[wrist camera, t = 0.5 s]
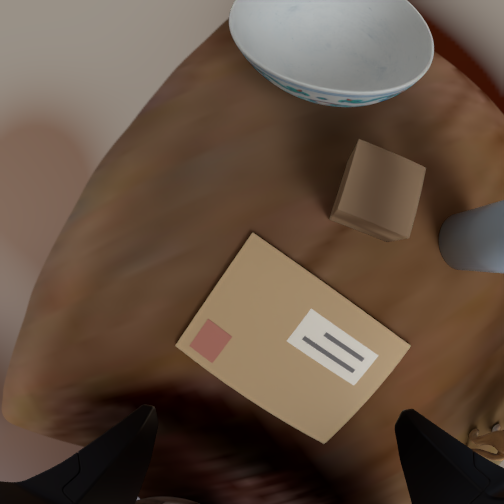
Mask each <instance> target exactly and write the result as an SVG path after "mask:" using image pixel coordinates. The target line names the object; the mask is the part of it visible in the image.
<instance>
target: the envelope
mask: <svg viewBox="0 0 504 504" xmlns="http://www.w3.org/2000/svg"><path fill="white" fill-rule="evenodd" d="M175 346H176V347H178V348H179V349H180V350H181V351H183V352H184V353H185V354H186V355H188V356H189V357H190V358H192V359H193V360H194V361H196V362H197V363H198V364H200V365H201V366H202V367H204V368H205V369H206V370H208V371H209V372H210V373H212V374H213V375H214V376H216V377H217V378H219V379H220V380H221V381H223V382H224V383H226V384H227V385H228V386H230V387H231V388H233V389H234V390H236V391H237V392H239V393H240V394H242V395H243V396H245V397H246V398H248V399H249V400H251V401H252V402H254V403H255V404H257V405H258V406H260V407H261V408H263V409H265V410H266V411H268V412H269V413H271V414H273V415H274V416H276V417H278V418H279V419H281V420H282V421H284V422H286V423H288V424H289V425H291V426H293V427H294V428H296V429H298V430H300V431H301V432H303V433H305V434H307V435H309V436H310V437H312V438H314V439H316V440H318V441H320V442H321V443H323V444H325V443H326V442H327V441H328V440H329V439H330V438H331V437H332V436H333V435H334V434H335V433H336V432H337V431H338V430H339V429H340V428H341V427H342V426H343V425H344V424H345V423H346V422H347V421H348V420H349V419H350V418H351V417H352V416H353V415H354V414H355V413H356V412H357V411H358V410H359V409H360V408H361V407H362V406H363V404H364V403H365V402H366V401H367V400H368V399H369V398H370V397H371V396H372V394H373V393H374V392H375V391H376V390H377V389H378V387H379V386H380V385H381V384H382V383H383V381H384V380H385V379H386V378H387V377H388V375H389V374H390V373H391V372H392V370H393V369H394V368H395V367H396V365H397V364H398V363H399V361H400V360H401V359H402V358H403V356H404V355H405V354H406V352H407V351H408V349H409V348H410V347H411V346H410V345H409V344H408V343H406V342H405V341H404V340H402V339H401V338H400V337H398V336H397V335H396V334H394V333H393V332H391V331H390V330H389V329H387V328H386V327H385V326H383V325H382V324H381V323H379V322H378V321H376V320H375V319H374V318H372V317H371V316H370V315H368V314H367V313H365V312H364V311H363V310H361V309H360V308H359V307H357V306H356V305H354V304H353V303H352V302H350V301H349V300H347V299H346V298H345V297H343V296H342V295H341V294H339V293H338V292H336V291H335V290H334V289H332V288H331V287H329V286H328V285H327V284H325V283H324V282H322V281H321V280H320V279H318V278H317V277H315V276H314V275H313V274H311V273H310V272H308V271H307V270H306V269H304V268H303V267H301V266H300V265H299V264H297V263H296V262H294V261H293V260H291V259H290V258H289V257H287V256H286V255H284V254H283V253H282V252H280V251H279V250H277V249H276V248H274V247H273V246H272V245H270V244H269V243H267V242H266V241H264V240H263V239H262V238H260V237H259V236H257V235H256V234H254V233H252V234H251V235H250V237H249V238H248V240H247V241H246V243H245V244H244V246H243V247H242V248H241V250H240V251H239V253H238V254H237V256H236V257H235V259H234V260H233V262H232V263H231V264H230V266H229V267H228V269H227V270H226V272H225V273H224V275H223V276H222V278H221V279H220V280H219V282H218V283H217V285H216V286H215V288H214V289H213V291H212V292H211V294H210V295H209V297H208V298H207V300H206V301H205V302H204V304H203V305H202V307H201V308H200V310H199V311H198V313H197V314H196V316H195V317H194V319H193V320H192V322H191V323H190V325H189V326H188V327H187V329H186V330H185V332H184V333H183V335H182V336H181V338H180V339H179V341H178V342H177V344H176V345H175Z"/></svg>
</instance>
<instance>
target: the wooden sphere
mask: <svg viewBox="0 0 504 504" xmlns="http://www.w3.org/2000/svg"><path fill="white" fill-rule="evenodd" d="M135 504H200V503H197V502H194V501H191V500H187V499H183V498H177V497H166V496H160V497H149V498H144V499H140V500H137V501H136V503H135Z"/></svg>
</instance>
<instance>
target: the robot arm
mask: <svg viewBox="0 0 504 504" xmlns="http://www.w3.org/2000/svg"><path fill="white" fill-rule="evenodd" d="M157 428H158V418H157V413H156V409H155V407H154V406H151V405H146V404H144V405H142V406H140V407H139V408H138V409H136V410H135V411H134V412H132V413H131V414H130V415H128V416H127V417H126V418H124V419H123V420H122V421H120V422H119V423H118V424H116V425H115V426H113V427H112V428H111V429H109V430H108V431H107V432H105V433H104V434H102V435H101V436H100V437H98V438H97V439H96V440H94V441H93V442H91V443H90V444H88V445H87V446H86V447H84V448H83V449H81V450H80V451H79V452H78V453H76V454H74V455H73V456H71V457H70V458H68V459H66V460H65V461H63V462H62V463H60V464H58V465H56V466H54V467H52V468H51V469H49V470H47V471H44V472H42V473H40V474H38V475H36V476H34V477H32V478H30V479H27V480H25V481H22V482H1V481H0V504H135V503H136V500H137V497H138V494H139V491H140V489H141V486H142V483H143V480H144V477H145V474H146V472H147V469H148V466H149V463H150V460H151V456H152V451H153V447H154V442H155V437H156V433H157ZM395 433H396V439H397V444H398V450H399V456H400V461H401V465H402V468H403V472H404V476H405V479H406V483H407V487H408V490H409V494H410V498H411V502H412V504H504V468H502V467H500V466H498V465H496V464H495V463H493V462H491V461H489V460H487V459H486V458H484V457H482V456H481V455H479V454H478V453H476V452H475V451H473V450H472V449H470V448H469V447H467V446H466V445H464V444H463V443H461V442H460V441H458V440H457V439H455V438H454V437H452V436H451V435H449V434H448V433H447V432H445V431H444V430H442V429H441V428H439V427H438V426H436V425H435V424H434V423H432V422H431V421H429V420H428V419H426V418H425V417H424V416H422V415H421V414H419V413H418V412H417V411H415V410H414V409H407V410H403V411H402V412H401V414H400V416H399V418H398V420H397V422H396V424H395Z"/></svg>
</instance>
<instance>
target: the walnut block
mask: <svg viewBox="0 0 504 504" xmlns="http://www.w3.org/2000/svg"><path fill="white" fill-rule="evenodd" d="M425 171H426V168H425V167H423V166H421V165H419V164H417V163H415V162H413V161H411V160H408V159H406V158H404V157H402V156H399V155H397V154H395V153H393V152H390V151H388V150H385V149H383V148H381V147H378V146H376V145H373V144H371V143H368V142H366V141H363V140H360V139H359V140H358V142H357V144H356V146H355V148H354V150H353V152H352V153H351V155H350V157H349V159H348V161H347V164H346V168H345V171H344V174H343V177H342V181H341V184H340V187H339V190H338V193H337V196H336V199H335V202H334V206H333V209H332V212H331V215H330V218H329V220H332V221H334V222H337V223H340V224H342V225H345V226H347V227H350V228H353V229H355V230H358V231H360V232H363V233H366V234H368V235H371V236H373V237H376V238H378V239H381V240H383V241H386V242H389V241H395V240H401V239H407V238H409V237H410V233H411V230H412V226H413V223H414V219H415V215H416V211H417V207H418V203H419V199H420V195H421V190H422V186H423V181H424V176H425Z"/></svg>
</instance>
